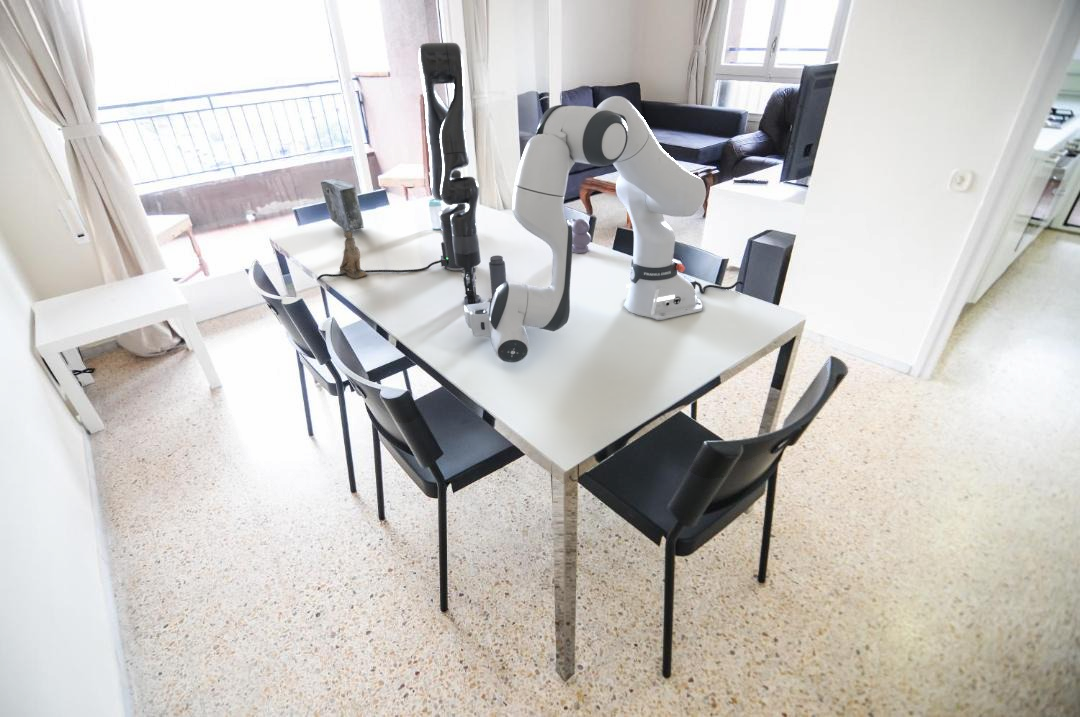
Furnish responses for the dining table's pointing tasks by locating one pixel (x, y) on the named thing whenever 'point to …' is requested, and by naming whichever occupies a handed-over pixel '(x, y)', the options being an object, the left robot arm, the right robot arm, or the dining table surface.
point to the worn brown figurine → (351, 258)
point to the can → (435, 213)
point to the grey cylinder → (497, 272)
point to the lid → (477, 299)
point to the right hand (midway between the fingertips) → (499, 299)
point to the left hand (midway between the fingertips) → (472, 300)
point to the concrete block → (342, 204)
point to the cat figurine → (580, 235)
